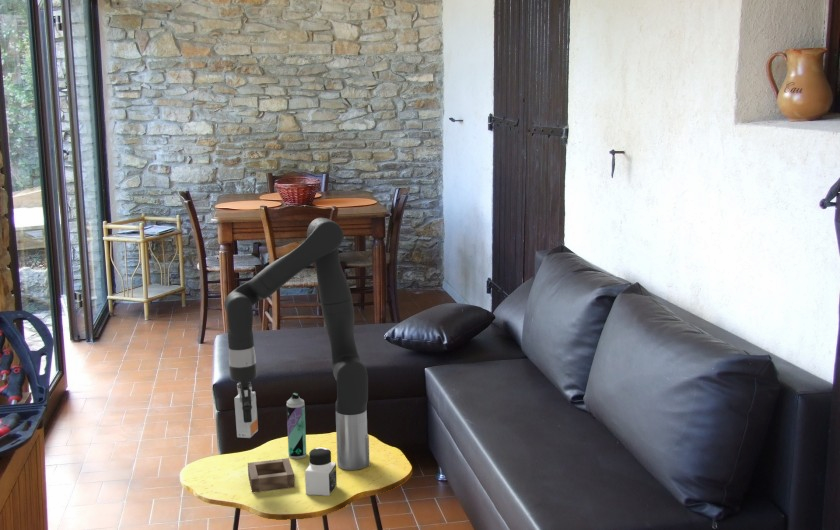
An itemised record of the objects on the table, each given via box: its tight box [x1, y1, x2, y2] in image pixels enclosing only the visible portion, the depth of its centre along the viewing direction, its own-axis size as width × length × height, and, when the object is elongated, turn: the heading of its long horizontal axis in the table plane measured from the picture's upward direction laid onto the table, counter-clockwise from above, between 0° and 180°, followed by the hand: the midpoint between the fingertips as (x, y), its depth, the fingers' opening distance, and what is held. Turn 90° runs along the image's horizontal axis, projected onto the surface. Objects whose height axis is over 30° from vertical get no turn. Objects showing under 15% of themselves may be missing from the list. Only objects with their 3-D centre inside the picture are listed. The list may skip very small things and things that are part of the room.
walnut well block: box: [247, 457, 296, 493], centre depth 257 cm, size 12×12×4 cm
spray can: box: [286, 392, 307, 460], centre depth 274 cm, size 6×6×20 cm
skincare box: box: [233, 391, 259, 439], centre depth 255 cm, size 6×4×12 cm
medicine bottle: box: [304, 447, 338, 497], centre depth 250 cm, size 7×7×12 cm
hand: (246, 417), depth 255 cm, fingers closed on skincare box, 7 cm apart
